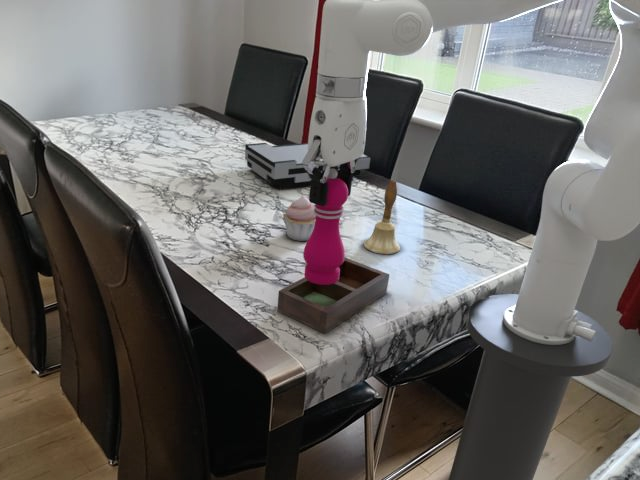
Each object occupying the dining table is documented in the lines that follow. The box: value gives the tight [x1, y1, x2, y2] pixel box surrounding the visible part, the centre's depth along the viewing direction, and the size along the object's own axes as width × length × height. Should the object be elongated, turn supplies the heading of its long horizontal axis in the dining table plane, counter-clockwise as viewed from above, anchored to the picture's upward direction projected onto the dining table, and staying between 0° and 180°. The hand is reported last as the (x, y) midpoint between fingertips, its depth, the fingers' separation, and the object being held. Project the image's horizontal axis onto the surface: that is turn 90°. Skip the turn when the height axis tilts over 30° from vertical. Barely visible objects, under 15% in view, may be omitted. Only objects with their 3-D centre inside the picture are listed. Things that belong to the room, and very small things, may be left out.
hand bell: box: [363, 179, 401, 255], centre depth 130 cm, size 8×8×16 cm
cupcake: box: [282, 195, 316, 242], centre depth 135 cm, size 9×9×10 cm
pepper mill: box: [302, 169, 349, 285], centre depth 99 cm, size 7×7×20 cm
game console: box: [244, 142, 371, 191], centre depth 177 cm, size 21×32×8 cm, turn 114°
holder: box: [277, 256, 390, 335], centre depth 109 cm, size 11×21×4 cm, turn 138°
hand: (329, 198), depth 96 cm, fingers closed on pepper mill, 6 cm apart
